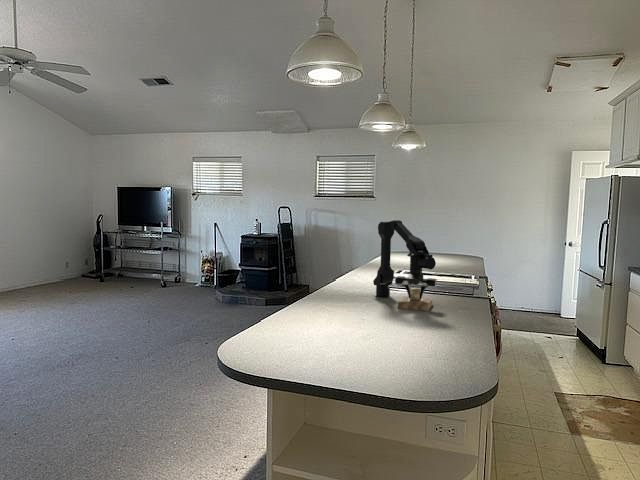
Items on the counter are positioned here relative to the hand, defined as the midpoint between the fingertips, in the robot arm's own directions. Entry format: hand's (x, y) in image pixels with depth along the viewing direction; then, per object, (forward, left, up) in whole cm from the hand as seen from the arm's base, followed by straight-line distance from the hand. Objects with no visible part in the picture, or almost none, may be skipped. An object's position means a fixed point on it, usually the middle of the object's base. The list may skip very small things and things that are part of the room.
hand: (415, 298), depth 216 cm
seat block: (0, 0, -4) cm, 4 cm away
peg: (0, 0, -4) cm, 4 cm away
